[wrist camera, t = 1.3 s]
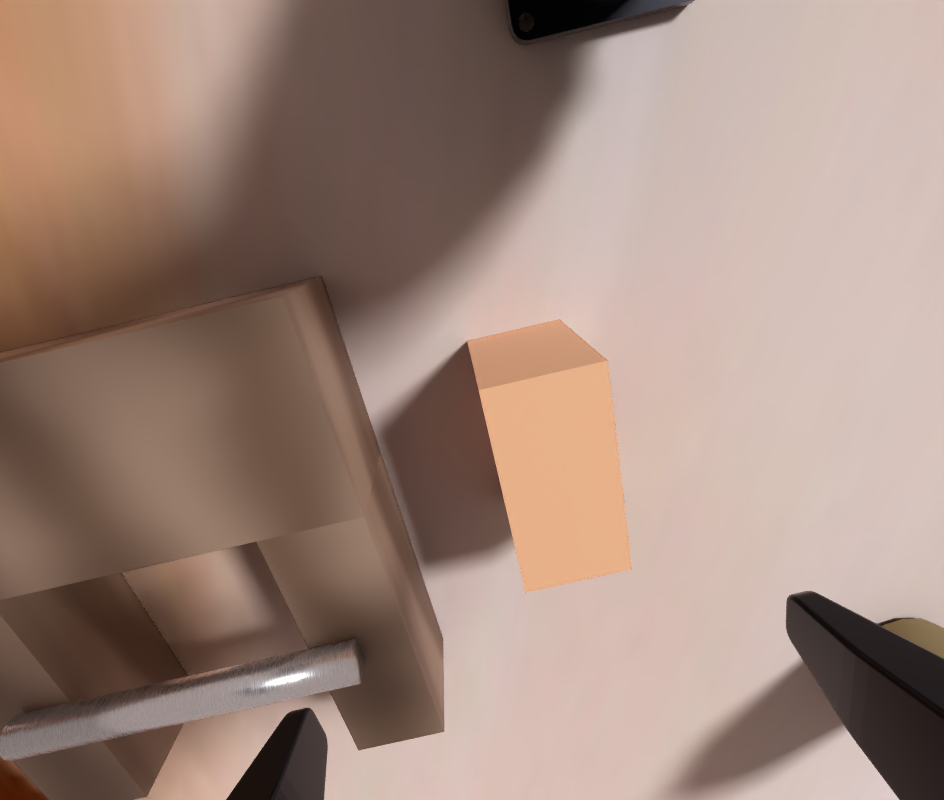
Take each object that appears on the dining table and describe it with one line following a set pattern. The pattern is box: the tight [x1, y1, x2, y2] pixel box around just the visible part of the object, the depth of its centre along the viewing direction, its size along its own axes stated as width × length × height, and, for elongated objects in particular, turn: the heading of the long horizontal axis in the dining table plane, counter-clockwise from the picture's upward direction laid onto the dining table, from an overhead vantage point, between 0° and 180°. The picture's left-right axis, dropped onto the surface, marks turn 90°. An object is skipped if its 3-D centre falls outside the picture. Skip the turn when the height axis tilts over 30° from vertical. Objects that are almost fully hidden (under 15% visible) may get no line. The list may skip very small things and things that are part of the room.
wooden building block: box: [467, 319, 632, 593], centre depth 18 cm, size 4×8×6 cm, turn 13°
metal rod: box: [0, 638, 366, 761], centre depth 19 cm, size 14×2×2 cm, turn 103°
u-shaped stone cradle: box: [0, 276, 444, 800], centre depth 20 cm, size 18×20×5 cm
